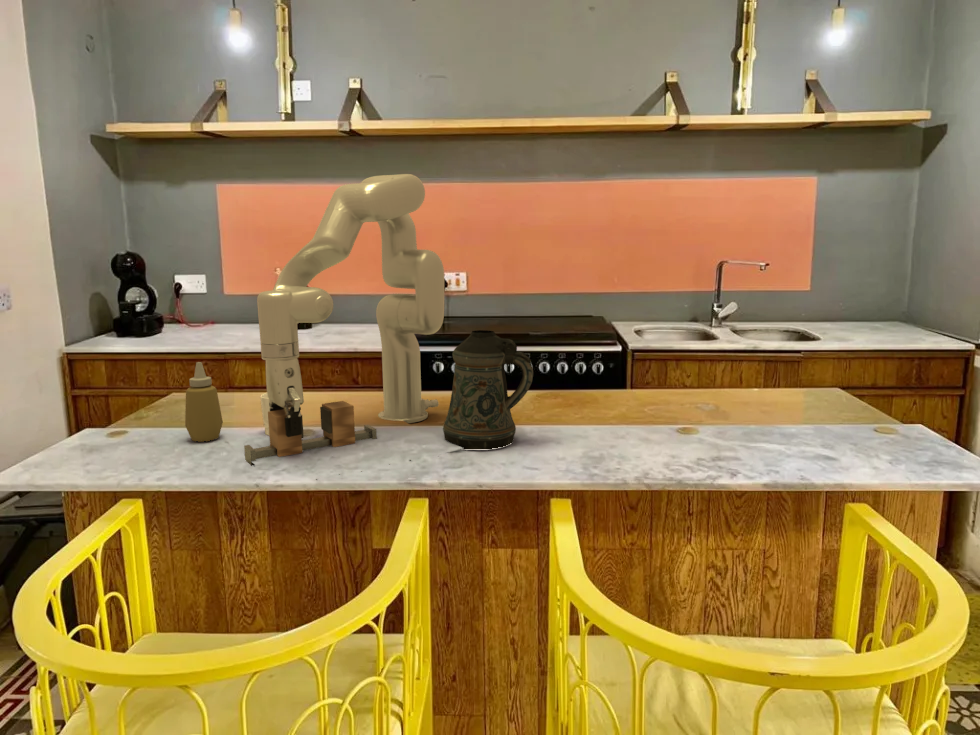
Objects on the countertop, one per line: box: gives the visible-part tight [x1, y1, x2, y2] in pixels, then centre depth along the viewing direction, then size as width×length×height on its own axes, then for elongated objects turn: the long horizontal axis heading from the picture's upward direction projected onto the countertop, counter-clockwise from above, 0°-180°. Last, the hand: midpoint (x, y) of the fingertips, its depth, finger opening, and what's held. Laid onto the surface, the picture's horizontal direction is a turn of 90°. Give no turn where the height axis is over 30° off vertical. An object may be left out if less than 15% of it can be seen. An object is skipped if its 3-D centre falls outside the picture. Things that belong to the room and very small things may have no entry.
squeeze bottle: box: [184, 361, 224, 443], centre depth 163 cm, size 8×8×18 cm
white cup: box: [259, 392, 291, 436], centre depth 166 cm, size 8×8×10 cm
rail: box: [243, 424, 378, 467], centre depth 155 cm, size 28×4×3 cm, turn 124°
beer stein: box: [442, 329, 534, 449], centre depth 160 cm, size 16×19×25 cm
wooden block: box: [319, 400, 356, 448], centre depth 157 cm, size 6×6×8 cm
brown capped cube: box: [268, 409, 304, 458], centre depth 151 cm, size 6×6×8 cm
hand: (286, 430), depth 151 cm, fingers open, 9 cm apart
